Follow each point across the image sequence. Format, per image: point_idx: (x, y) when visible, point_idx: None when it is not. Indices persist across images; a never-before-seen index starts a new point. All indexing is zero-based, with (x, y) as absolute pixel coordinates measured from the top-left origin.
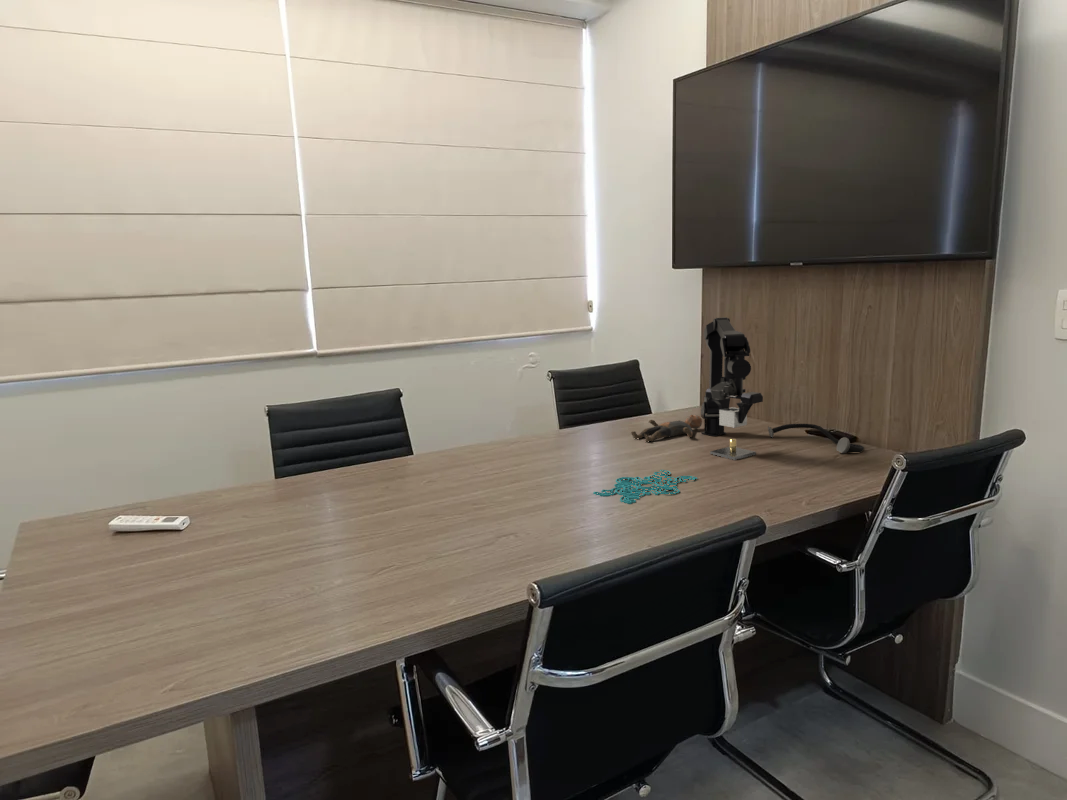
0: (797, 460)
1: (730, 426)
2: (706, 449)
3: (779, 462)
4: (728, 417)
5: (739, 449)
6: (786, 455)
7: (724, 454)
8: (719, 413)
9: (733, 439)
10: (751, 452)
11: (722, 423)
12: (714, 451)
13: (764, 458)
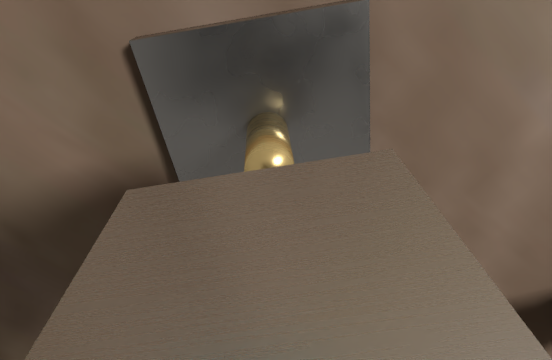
0: (24, 284)
1: (189, 184)
2: (472, 72)
3: (6, 211)
4: (212, 275)
5: None
6: None
7: (230, 28)
8: (493, 283)
9: None
10: None
11: (341, 173)
12: (344, 25)
13: (111, 203)
